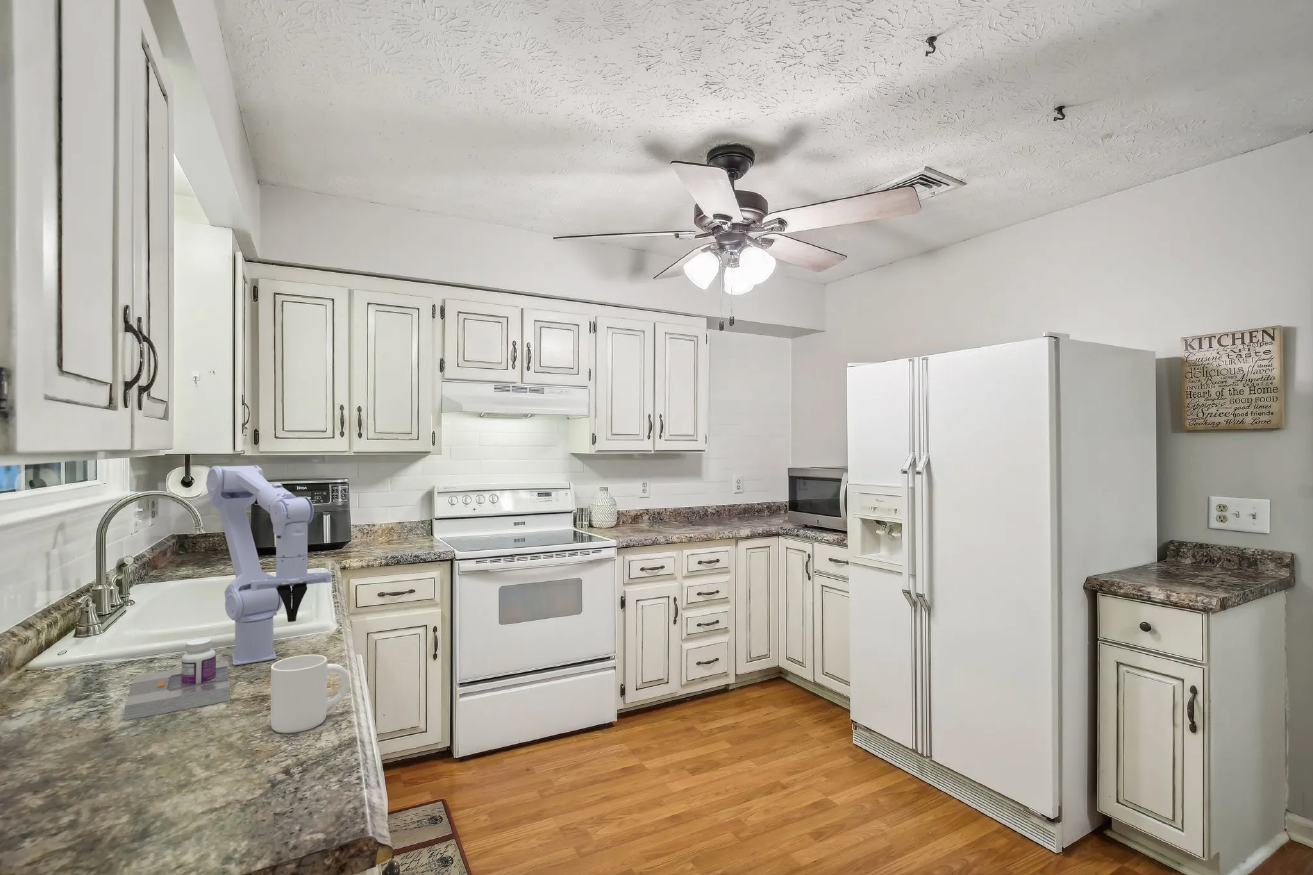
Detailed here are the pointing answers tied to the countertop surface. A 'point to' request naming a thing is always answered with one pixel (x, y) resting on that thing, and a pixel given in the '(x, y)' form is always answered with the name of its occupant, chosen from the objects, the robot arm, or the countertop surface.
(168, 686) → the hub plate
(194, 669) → the pill bottle
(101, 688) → the countertop surface
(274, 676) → the mug
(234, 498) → the robot arm
